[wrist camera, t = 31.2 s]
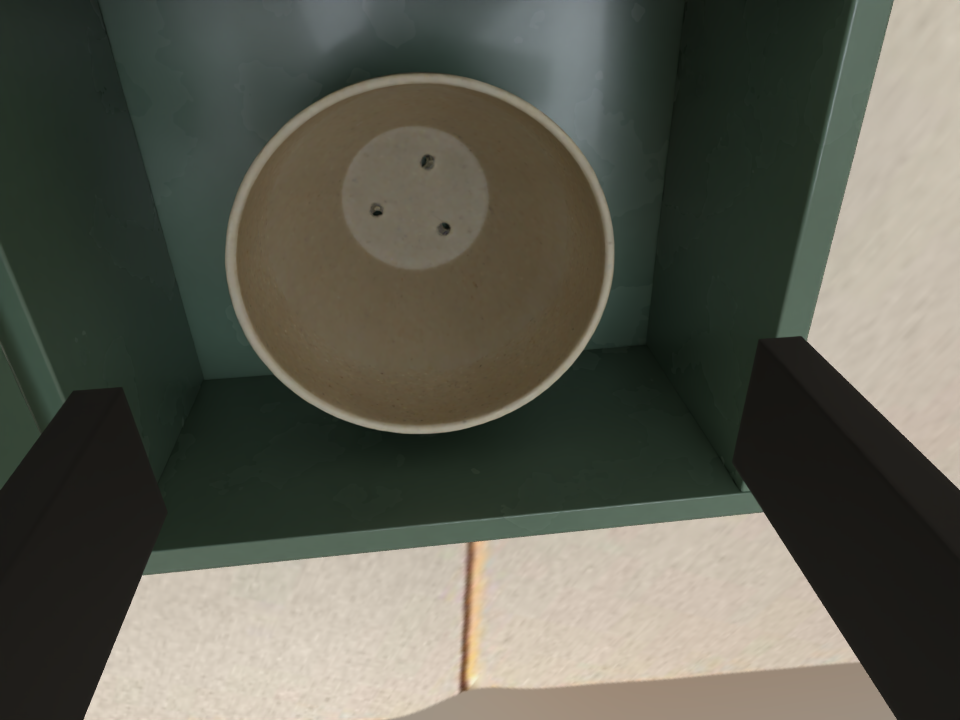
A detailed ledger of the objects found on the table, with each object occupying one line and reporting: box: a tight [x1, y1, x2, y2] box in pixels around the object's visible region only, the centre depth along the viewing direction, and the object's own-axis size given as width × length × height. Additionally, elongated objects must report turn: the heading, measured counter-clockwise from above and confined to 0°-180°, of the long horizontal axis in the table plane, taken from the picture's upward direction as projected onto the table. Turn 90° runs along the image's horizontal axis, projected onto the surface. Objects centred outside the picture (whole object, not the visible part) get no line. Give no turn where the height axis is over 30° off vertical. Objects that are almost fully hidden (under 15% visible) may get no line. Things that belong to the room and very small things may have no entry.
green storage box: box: [0, 0, 894, 575], centre depth 20 cm, size 19×15×10 cm
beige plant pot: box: [225, 72, 615, 434], centre depth 21 cm, size 10×10×7 cm
